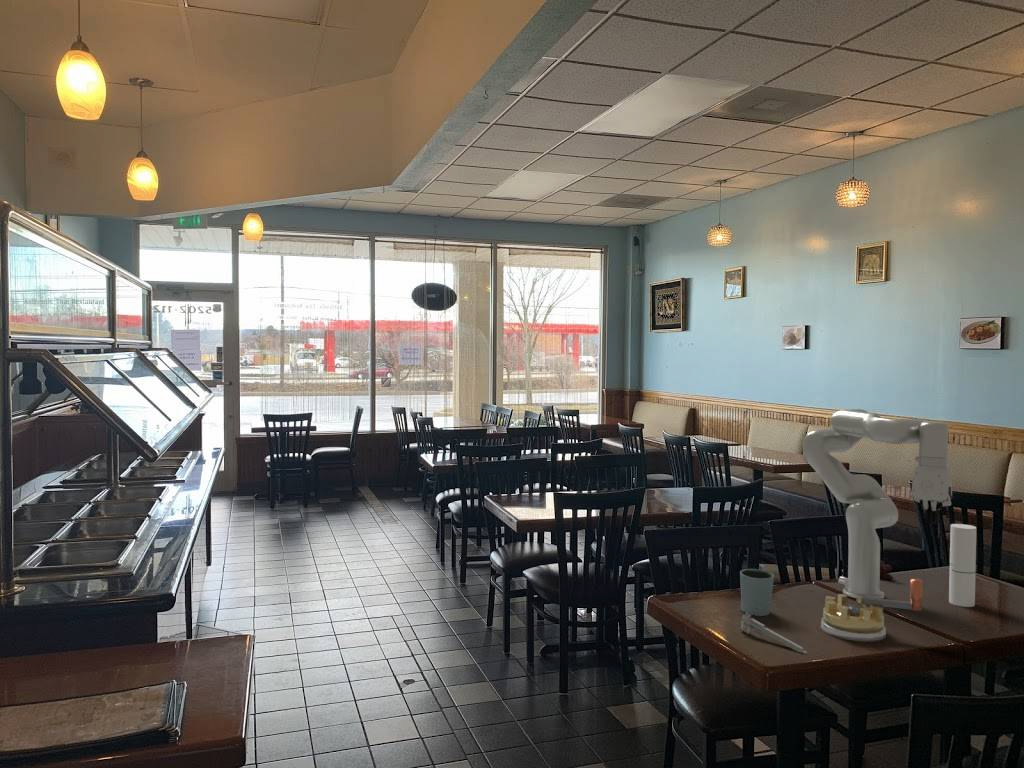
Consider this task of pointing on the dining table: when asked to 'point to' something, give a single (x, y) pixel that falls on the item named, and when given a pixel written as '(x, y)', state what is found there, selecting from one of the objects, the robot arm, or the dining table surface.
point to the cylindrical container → (962, 565)
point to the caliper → (767, 632)
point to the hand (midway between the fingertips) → (931, 522)
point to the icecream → (885, 568)
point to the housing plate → (853, 634)
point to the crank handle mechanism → (867, 610)
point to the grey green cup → (756, 591)
